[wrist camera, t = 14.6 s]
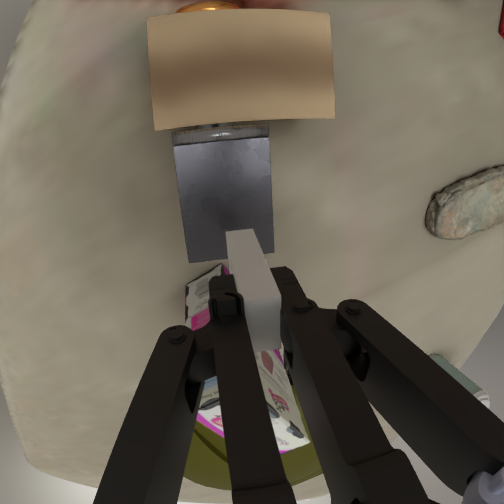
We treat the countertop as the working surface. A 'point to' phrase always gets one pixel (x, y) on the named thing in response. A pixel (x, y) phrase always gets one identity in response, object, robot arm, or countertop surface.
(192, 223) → the plate
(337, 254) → the countertop surface
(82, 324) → the countertop surface
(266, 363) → the candy bar box
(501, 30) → the red long flat piece
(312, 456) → the spaceship
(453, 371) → the disposable coffee cup
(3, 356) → the countertop surface
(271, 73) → the oak block
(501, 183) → the long grey stone
